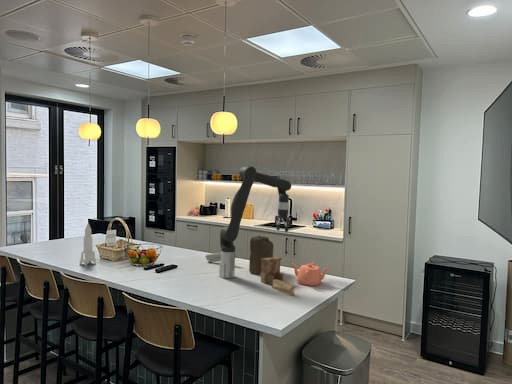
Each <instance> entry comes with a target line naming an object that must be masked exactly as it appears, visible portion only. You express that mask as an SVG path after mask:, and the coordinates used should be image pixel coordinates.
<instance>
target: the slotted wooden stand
mask: <svg viewBox="0 0 512 384" xmlns="http://www.w3.org/2000/svg"><path fill="white" fill-rule="evenodd" d="M260 260H261V274H260V283H262V284H267V285H270V286H272V280H274V279H278V280H281V281H283V282H284V276H285V275H284V273H281V260H282V257H279V256H273V257H269V258H261V259H260Z"/></svg>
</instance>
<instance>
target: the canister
mask: <svg viewBox="0 0 512 384" xmlns="http://www.w3.org/2000/svg"><path fill="white" fill-rule="evenodd" d="M249 251H250V254H249V264H248V265H249V270H248V271H249V273H251V274H255V275H261V260H260V259H261V258H269V257H274V243H273V242H272V241H271V240H270V238H269V237H268V236H266V237H265V236H261V235H255V236H251V238H250V242H249Z"/></svg>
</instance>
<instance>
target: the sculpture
mask: <svg viewBox="0 0 512 384" xmlns="http://www.w3.org/2000/svg"><path fill="white" fill-rule="evenodd" d="M80 253H81V254H80V259H79V265H82V263H83V265H84V267H87V266H88V263H92V262H93V263H94V264H95V265H96V264H97V258H96V255H95V250H94V249H93V236H92V228H91V225H90V223H89V222H87V224H86V226H85V228H84V236H83V250H82V251H81V252H80Z"/></svg>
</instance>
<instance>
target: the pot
mask: <svg viewBox="0 0 512 384" xmlns="http://www.w3.org/2000/svg"><path fill="white" fill-rule="evenodd" d="M291 265H292V266H293V269H294V274H295V277H297V278H296V280H297V284H298V285H302V286H303V285H304V286H312V287H318V286H319V285H320V284H321V281H322V280H324V279H325V277H326V272H327V271H328V270H329V269H330V267H325V268H324V269H323V270H321V267H320V266H318V265H315V261H312V262H311V263H307V264H302V265H301V266H300V267H299V269H298V267H297V265H296V264H295V263H293V262H291ZM321 271H322V272H321Z"/></svg>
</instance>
